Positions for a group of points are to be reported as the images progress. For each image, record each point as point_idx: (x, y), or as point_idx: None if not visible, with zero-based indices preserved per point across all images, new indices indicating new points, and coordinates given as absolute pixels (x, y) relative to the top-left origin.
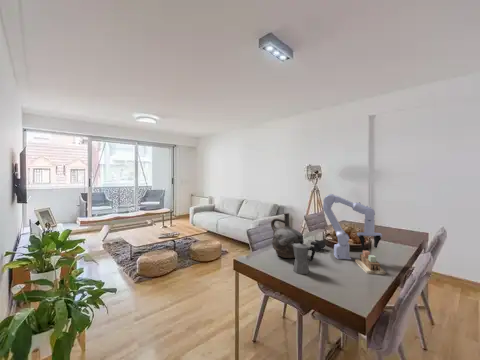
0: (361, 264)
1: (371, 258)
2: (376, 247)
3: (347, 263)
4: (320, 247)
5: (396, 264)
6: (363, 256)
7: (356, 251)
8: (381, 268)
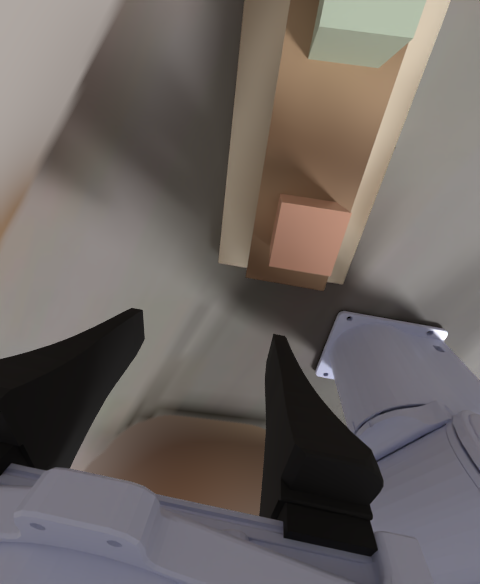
0: (378, 159)
1: None
2: (131, 309)
3: (433, 243)
4: None
5: (60, 208)
6: None
7: (218, 412)
8: (242, 32)
